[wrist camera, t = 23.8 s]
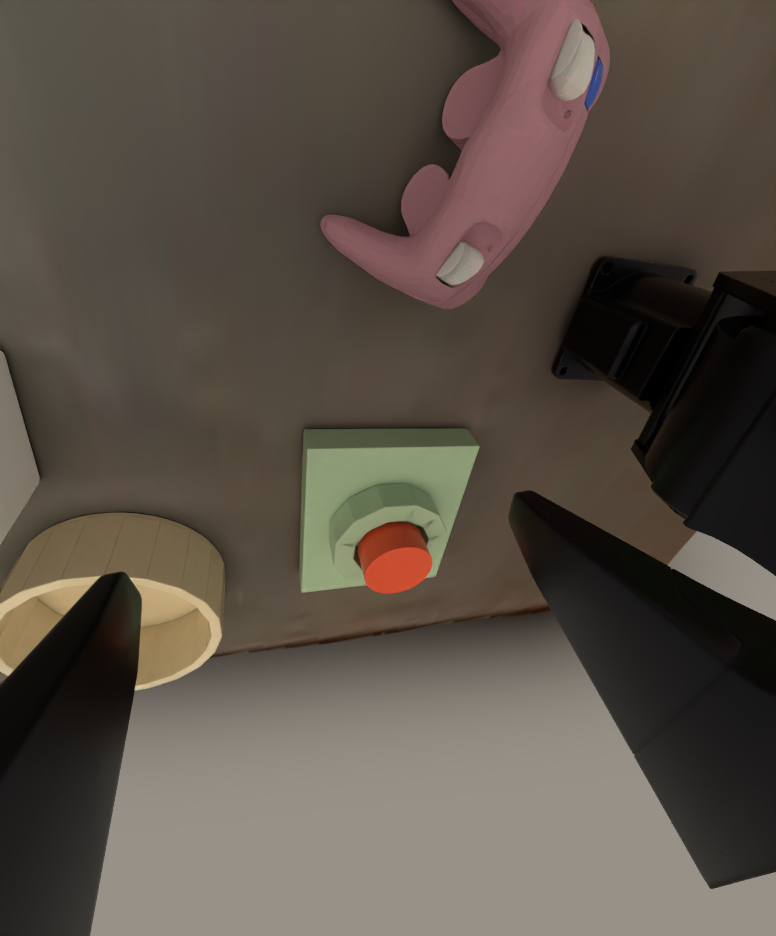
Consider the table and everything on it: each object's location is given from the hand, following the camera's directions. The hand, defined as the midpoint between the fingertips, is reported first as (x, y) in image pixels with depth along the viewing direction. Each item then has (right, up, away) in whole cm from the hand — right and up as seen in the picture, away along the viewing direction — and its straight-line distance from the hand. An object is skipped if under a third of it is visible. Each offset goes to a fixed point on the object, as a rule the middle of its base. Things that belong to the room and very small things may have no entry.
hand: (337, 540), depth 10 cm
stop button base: (0, -1, +18) cm, 18 cm away
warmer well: (-15, -5, +16) cm, 23 cm away
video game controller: (+3, +14, +7) cm, 16 cm away
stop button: (+1, -3, +15) cm, 15 cm away
